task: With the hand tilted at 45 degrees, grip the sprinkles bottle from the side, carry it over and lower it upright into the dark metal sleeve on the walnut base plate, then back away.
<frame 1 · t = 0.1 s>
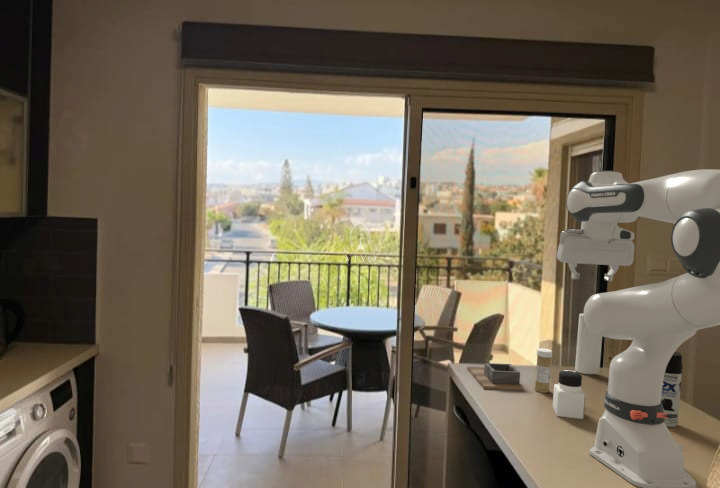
hand: (591, 279, 140), 39 cm above the counter, tool pointing down, fingers open, 8 cm apart
socket block: (501, 382, 168), on the counter
paper towel roll: (585, 373, 184), on the counter
medicine bottle: (567, 414, 144), on the counter
sprinkles bottle: (541, 391, 162), on the counter
spray can: (663, 423, 140), on the counter
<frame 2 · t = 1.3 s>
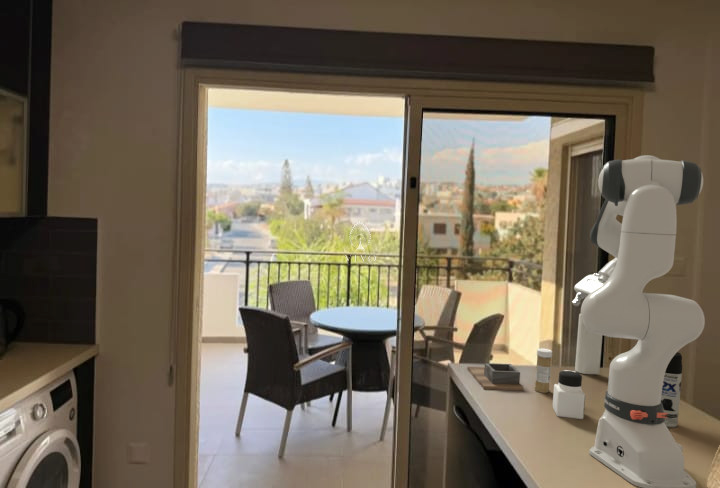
hand: (582, 307, 161), 27 cm above the counter, tool tilted 45°, fingers open, 8 cm apart
nothing on the counter moved.
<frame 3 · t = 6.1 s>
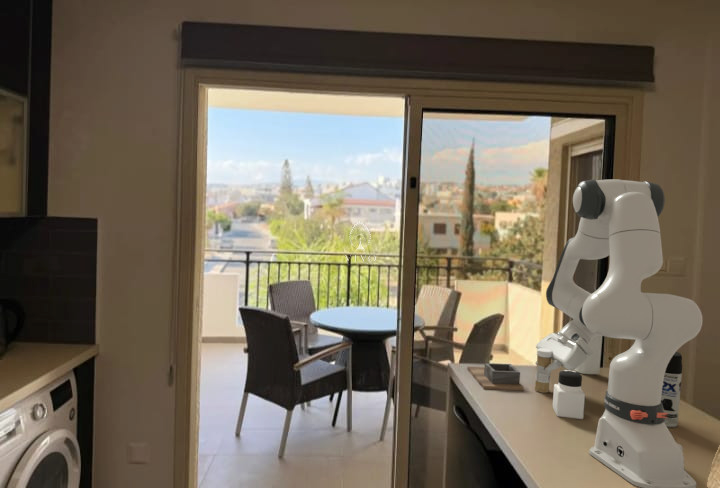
hand: (541, 368, 161), 7 cm above the counter, tool tilted 45°, fingers closed on sprinkles bottle, 4 cm apart
sprinkles bottle: (541, 391, 162), on the counter, touching gripper
everything else where it was.
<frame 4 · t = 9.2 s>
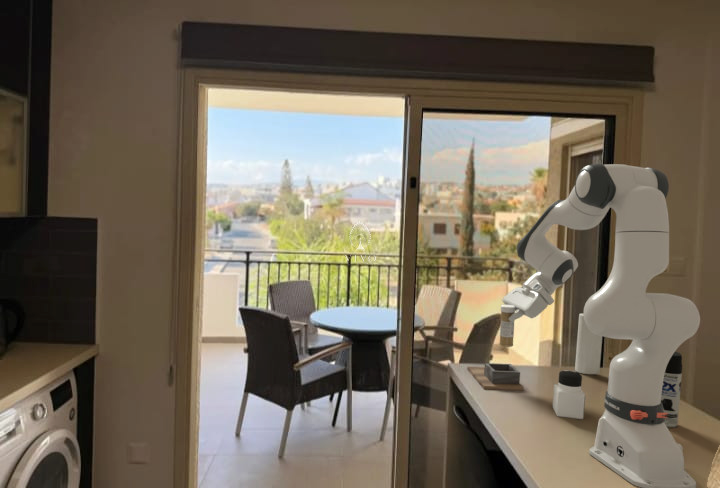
hand: (505, 318, 167), 22 cm above the counter, tool tilted 45°, fingers closed on sprinkles bottle, 4 cm apart
sprinkles bottle: (506, 346, 167), point 12 cm above the counter, touching gripper
everything else where it was.
when the fingers open (10 cm above the counter, at t = 12.6 s): sprinkles bottle stays where it is, resting on socket block.
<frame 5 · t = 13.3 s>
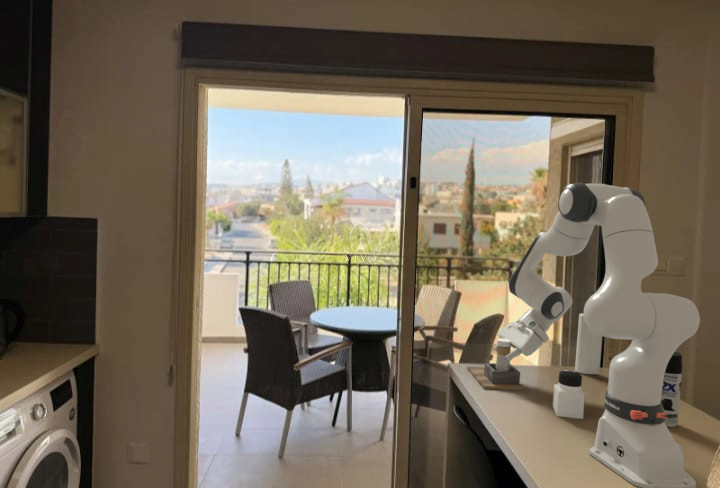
hand: (501, 354, 167), 9 cm above the counter, tool tilted 45°, fingers open, 8 cm apart
sprinkles bottle: (501, 379, 168), point 1 cm above the counter, touching socket block
everything else where it was.
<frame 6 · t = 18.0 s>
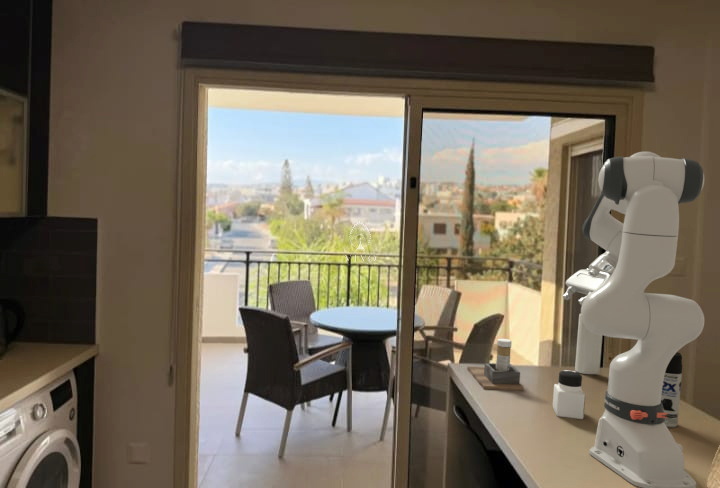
hand: (572, 301, 161), 29 cm above the counter, tool tilted 45°, fingers open, 8 cm apart
nothing on the counter moved.
at the end: sprinkles bottle 0.3 cm off-centre on the socket block, point 0.8 cm above the socket block's base; sprinkles bottle tilted 0°; the gripper is holding nothing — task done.
